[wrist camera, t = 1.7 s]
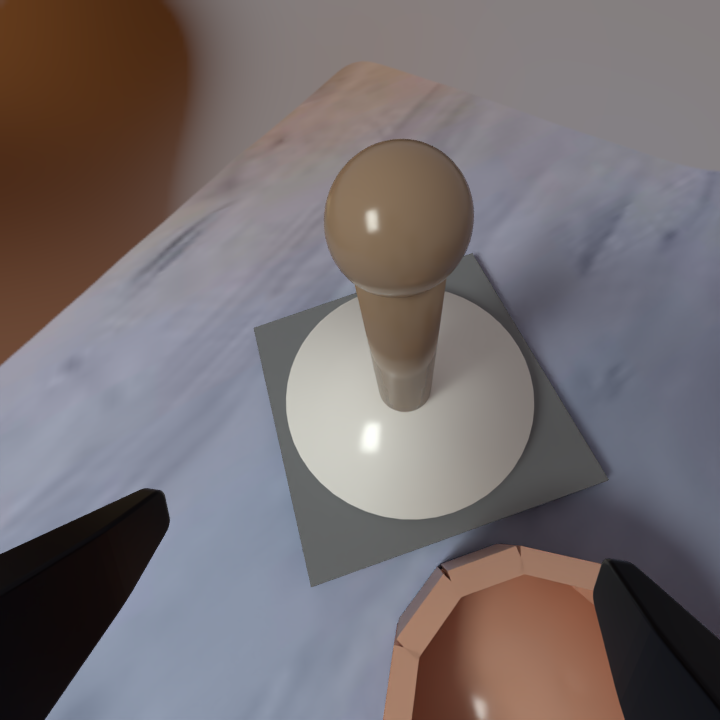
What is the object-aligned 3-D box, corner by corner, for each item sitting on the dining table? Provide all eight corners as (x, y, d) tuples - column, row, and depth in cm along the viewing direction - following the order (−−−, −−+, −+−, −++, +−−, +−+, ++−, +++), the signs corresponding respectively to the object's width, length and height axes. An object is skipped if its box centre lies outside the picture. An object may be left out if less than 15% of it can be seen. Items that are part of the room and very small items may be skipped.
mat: (603, 481, 20) (608, 480, 19) (314, 585, 19) (311, 587, 19) (470, 259, 27) (472, 253, 26) (256, 332, 26) (253, 327, 26)
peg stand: (579, 467, 19) (1006, 297, 5) (324, 559, 19) (91, 624, 5) (464, 268, 26) (529, -51, 12) (270, 335, 25) (96, 89, 11)
